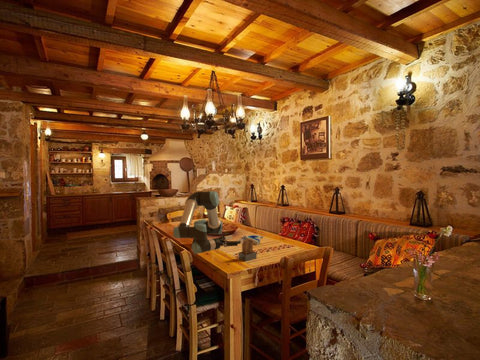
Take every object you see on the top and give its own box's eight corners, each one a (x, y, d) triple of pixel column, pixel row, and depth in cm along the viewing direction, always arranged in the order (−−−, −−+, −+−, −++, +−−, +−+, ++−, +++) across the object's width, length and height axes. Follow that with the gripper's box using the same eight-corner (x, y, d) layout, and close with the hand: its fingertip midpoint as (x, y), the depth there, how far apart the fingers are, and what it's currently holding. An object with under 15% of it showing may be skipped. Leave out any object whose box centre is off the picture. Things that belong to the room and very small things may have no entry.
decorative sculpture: (251, 242, 239) (234, 235, 264) (252, 246, 239) (234, 239, 264) (274, 238, 253) (256, 232, 278) (274, 242, 253) (256, 235, 279)
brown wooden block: (245, 259, 201) (245, 240, 200) (242, 257, 204) (242, 239, 204) (252, 257, 205) (252, 239, 204) (249, 255, 208) (249, 238, 208)
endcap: (245, 261, 198) (245, 255, 198) (238, 258, 204) (238, 252, 204) (256, 258, 205) (256, 252, 204) (249, 255, 211) (249, 249, 211)
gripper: (204, 245, 194) (227, 240, 207) (223, 254, 175) (248, 247, 188) (204, 235, 194) (227, 230, 207) (223, 243, 174) (248, 237, 187)
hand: (237, 238), depth 197 cm, fingers open, 13 cm apart
